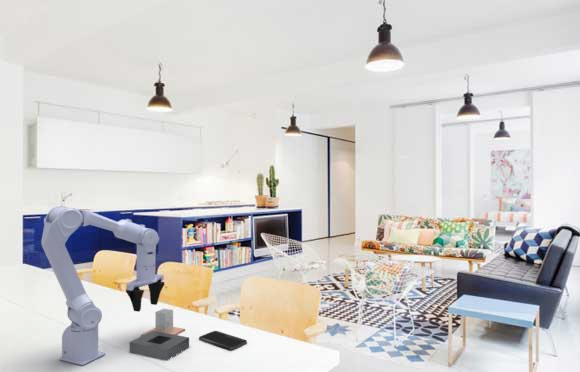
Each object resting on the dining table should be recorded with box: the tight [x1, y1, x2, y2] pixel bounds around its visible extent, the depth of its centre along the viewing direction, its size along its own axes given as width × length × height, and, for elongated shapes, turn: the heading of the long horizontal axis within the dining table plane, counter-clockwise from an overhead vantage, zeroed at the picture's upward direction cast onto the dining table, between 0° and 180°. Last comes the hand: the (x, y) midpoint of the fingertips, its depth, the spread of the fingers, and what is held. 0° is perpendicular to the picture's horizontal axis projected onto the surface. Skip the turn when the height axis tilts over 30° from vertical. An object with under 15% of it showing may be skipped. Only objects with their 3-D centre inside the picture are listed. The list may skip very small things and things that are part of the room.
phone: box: [198, 330, 248, 352], centre depth 127 cm, size 8×1×15 cm
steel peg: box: [154, 308, 174, 333], centre depth 133 cm, size 4×4×7 cm
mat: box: [140, 326, 186, 337], centre depth 134 cm, size 10×10×1 cm
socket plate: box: [129, 331, 190, 361], centre depth 120 cm, size 14×10×3 cm
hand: (145, 307), depth 128 cm, fingers open, 7 cm apart
